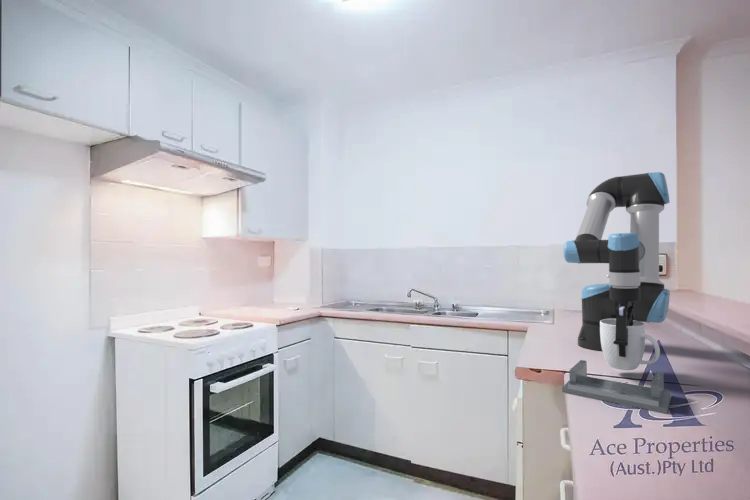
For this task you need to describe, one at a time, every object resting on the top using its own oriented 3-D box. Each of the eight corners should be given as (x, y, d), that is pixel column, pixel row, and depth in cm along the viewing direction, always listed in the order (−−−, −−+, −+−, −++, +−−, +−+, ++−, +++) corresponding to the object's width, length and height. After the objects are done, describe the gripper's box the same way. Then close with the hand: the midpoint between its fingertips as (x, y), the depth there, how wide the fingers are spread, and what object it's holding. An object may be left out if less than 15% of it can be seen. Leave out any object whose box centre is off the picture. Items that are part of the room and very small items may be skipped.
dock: (575, 378, 112) (574, 359, 112) (671, 396, 98) (671, 373, 98) (562, 392, 102) (561, 370, 102) (666, 413, 88) (666, 388, 88)
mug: (668, 370, 109) (667, 324, 109) (651, 379, 103) (649, 330, 103) (612, 358, 122) (610, 316, 121) (593, 366, 115) (592, 322, 115)
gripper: (616, 281, 124) (618, 350, 124) (601, 291, 106) (603, 371, 107) (645, 282, 119) (647, 354, 120) (633, 292, 101) (636, 376, 102)
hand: (626, 362), depth 113 cm, fingers closed on mug, 11 cm apart
